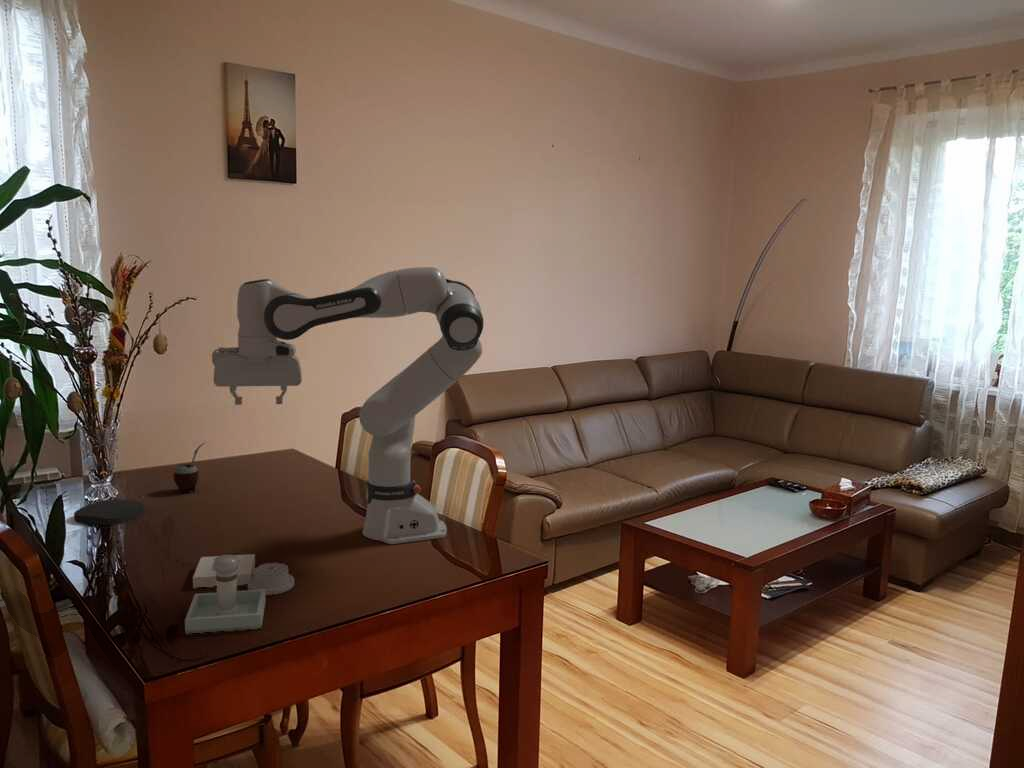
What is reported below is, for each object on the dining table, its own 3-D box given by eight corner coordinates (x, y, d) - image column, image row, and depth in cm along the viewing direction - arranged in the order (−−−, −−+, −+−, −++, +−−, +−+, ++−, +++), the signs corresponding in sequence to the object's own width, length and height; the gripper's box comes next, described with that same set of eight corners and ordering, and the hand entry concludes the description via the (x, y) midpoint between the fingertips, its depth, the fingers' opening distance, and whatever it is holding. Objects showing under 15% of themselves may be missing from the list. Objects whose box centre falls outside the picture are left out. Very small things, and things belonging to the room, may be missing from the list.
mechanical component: (281, 574, 180) (240, 585, 174) (281, 556, 180) (239, 566, 173) (302, 588, 173) (259, 600, 166) (302, 569, 172) (259, 581, 166)
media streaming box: (115, 528, 207) (114, 517, 207) (67, 523, 210) (66, 512, 210) (150, 511, 222) (150, 501, 221) (105, 506, 224) (105, 496, 224)
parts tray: (265, 602, 165) (265, 589, 164) (261, 628, 153) (260, 614, 153) (195, 607, 162) (194, 593, 161) (185, 634, 150) (184, 620, 150)
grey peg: (235, 607, 161) (233, 553, 158) (241, 616, 157) (240, 560, 155) (213, 612, 158) (211, 557, 156) (219, 621, 154) (217, 565, 152)
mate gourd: (169, 493, 237) (167, 445, 235) (187, 486, 245) (185, 440, 242) (189, 496, 235) (187, 447, 233) (207, 489, 243) (205, 442, 240)
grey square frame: (255, 564, 185) (254, 554, 185) (250, 584, 174) (250, 574, 173) (201, 567, 182) (201, 557, 182) (193, 588, 171) (192, 577, 170)
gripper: (209, 348, 181) (211, 407, 183) (300, 348, 185) (301, 405, 187) (213, 345, 187) (215, 402, 189) (301, 346, 191) (302, 401, 193)
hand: (259, 404), depth 188 cm, fingers open, 8 cm apart
